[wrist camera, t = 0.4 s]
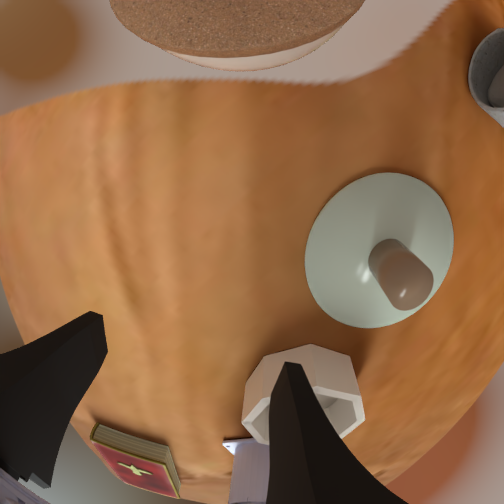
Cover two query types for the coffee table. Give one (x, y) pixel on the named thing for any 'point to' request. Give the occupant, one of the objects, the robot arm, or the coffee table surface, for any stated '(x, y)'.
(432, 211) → the lid
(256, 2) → the lidded jar
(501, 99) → the ceramic mug
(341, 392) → the bowl
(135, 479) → the hardcover book
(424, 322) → the coffee table surface
